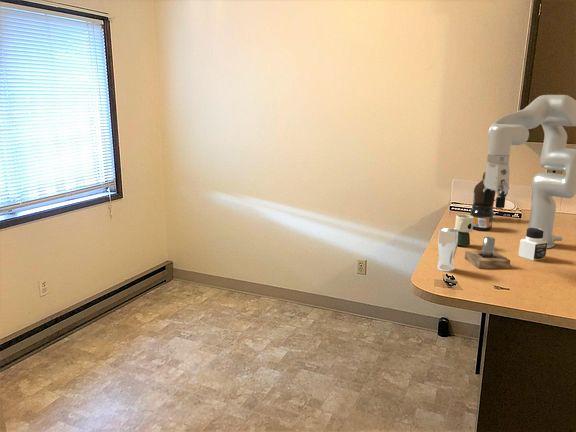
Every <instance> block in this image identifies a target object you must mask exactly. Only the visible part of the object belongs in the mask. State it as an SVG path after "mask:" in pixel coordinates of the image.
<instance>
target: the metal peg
mask: <svg viewBox="0 0 576 432" xmlns="http://www.w3.org/2000/svg"><path fill="white" fill-rule="evenodd" d="M495 241H496V238H495V237H491V236H484V237H483V242H482V243H483V244H482V250H481V251H482V257H483V258H493V252H494V251H495V250H494V249H495V244H496V243H495Z"/></svg>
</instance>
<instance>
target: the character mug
mask: <svg viewBox="0 0 576 432" xmlns="http://www.w3.org/2000/svg"><path fill="white" fill-rule="evenodd" d="M470 215H471V214H456V215H455V225H454V229H456V230H458V245H459V246H460V247H469V246H470V245H471V242H470V241H471V238H470V237H471V235H470V233H471V232H472V231H473V230H474V229H473V219H474V217H473V216H470ZM458 245H457V246H458Z"/></svg>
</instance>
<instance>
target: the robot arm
mask: <svg viewBox="0 0 576 432" xmlns="http://www.w3.org/2000/svg"><path fill="white" fill-rule="evenodd" d="M539 125H540V126H541V127H542V130H543V133H544V138H543V144H542V149H541V155H540V160H539V161H540V163H539V164H540V166H541V168H543V169H545V170H549V171H556V172H557V171H558V172H565V174H562V173H554V172H553V173H552V172H539V173H536V174H535V175H534V176H533V178H532V180H531V189H532V190H531V193H532V194H531V195H532V196H531V207H530V214H529V215H530V216H529V222H528V228H539V229H542V230H543V231H544V233H543V241H546V242H547V249H552V248H555V246H556V243H555V242H556V241H557V242H562V241H563V237H562V236H559V235H558V236H556V235H554V234H553V233H554V224H555V217H556V211H557V204H556V202H555V199H554V198H553V197H556V198H561V199H562V198H564V199H572V198H575V196H576V149H575V148H569V147H568V148H567V141H568V133H567V131H566V130H565V128H564V127H576V99H574V98H573V97H571V96H570V95H566V94H542V95H539V96H538V97H536V98H535V99H534V100H533V101H531V102H530V103H529V104H528V105H527V106H526V107H524V108H523V109H520V110H517V111H514V112H511V113H508V114H505V115H503V116H501V117H499V118H497V119H496V120H495V121H494V122H493V123H492V124H491V125H490V126H489V128H488V130H487V133H486V134H487V139H488V147H487V148H488V149H487V156H486V157H487V158H486V168H485V172H486V173H485V179H483V178H482V179H483V188H484V189H483V192H484V194H483V202H484V203H490V202H491V199H492V192H491V191H492V190H493V191H496V195H497V197H496V196H495V208H496V209H504V208H505V205H506V198H507V195H508V194H509V193H508V192H509V189H510V187H509V186H510V165H509V164H510V155H511V149H512V146H522V145H525V143H526V142H527V141H528V140H529V137H530V132H529V130H531V129H532V130H533V129H535V128H538V126H539ZM525 239H527V238H526V237H525Z"/></svg>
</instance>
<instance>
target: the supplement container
mask: <svg viewBox="0 0 576 432" xmlns="http://www.w3.org/2000/svg"><path fill="white" fill-rule="evenodd" d="M471 208H472V209H470V214H469V215H470V216H473V217H474V219H473V229H472V230H474V231H478V232H488V231H489V232H490V231H491V230H492V229H493V219H494V211H492V210H494V205H491V204H486V203H474V204H473V203H472V204H471Z"/></svg>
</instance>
